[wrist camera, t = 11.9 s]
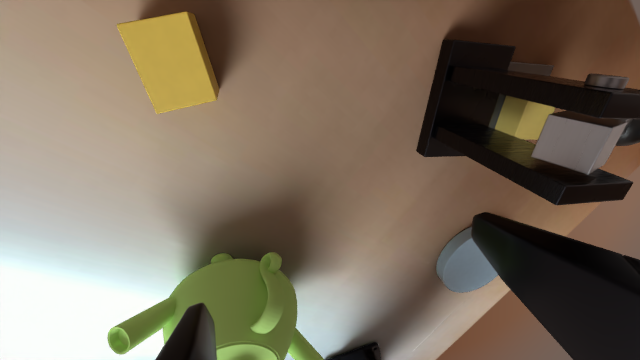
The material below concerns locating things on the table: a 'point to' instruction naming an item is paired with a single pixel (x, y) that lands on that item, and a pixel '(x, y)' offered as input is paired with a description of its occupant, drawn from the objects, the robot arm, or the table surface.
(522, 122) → the butter dish
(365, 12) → the table surface
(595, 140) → the arm
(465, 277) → the plate
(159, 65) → the butter pat
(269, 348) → the teapot
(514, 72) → the cutter
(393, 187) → the table surface
